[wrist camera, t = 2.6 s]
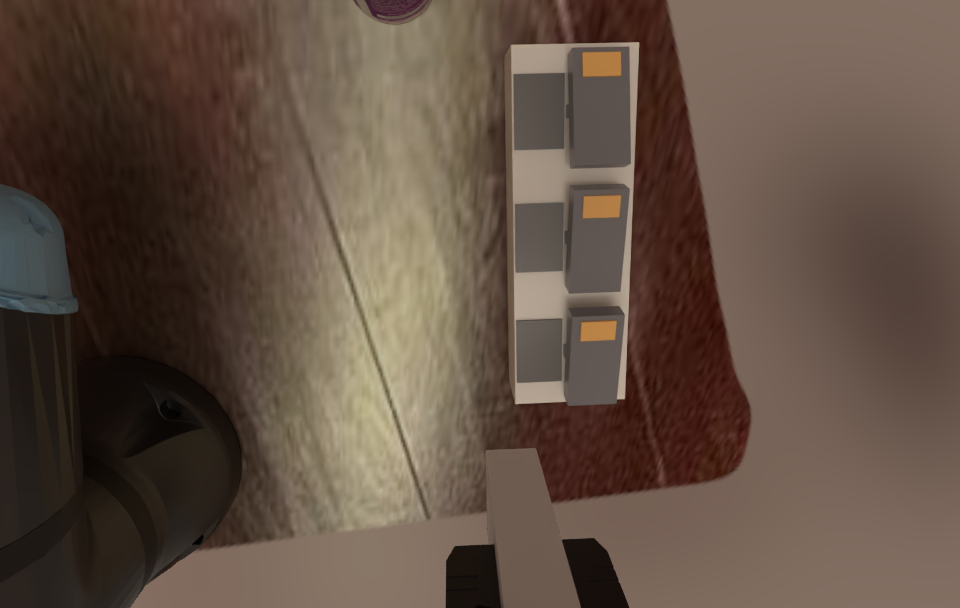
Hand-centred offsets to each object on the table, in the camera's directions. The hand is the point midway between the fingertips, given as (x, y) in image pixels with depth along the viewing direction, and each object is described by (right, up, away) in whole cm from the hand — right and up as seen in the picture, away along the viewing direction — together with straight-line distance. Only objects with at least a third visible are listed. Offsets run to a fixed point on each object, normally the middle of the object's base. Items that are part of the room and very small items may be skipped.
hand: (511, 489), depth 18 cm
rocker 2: (+6, +9, +15) cm, 19 cm away
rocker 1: (+5, +16, +13) cm, 22 cm away
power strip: (+4, +11, +20) cm, 23 cm away
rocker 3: (+6, +2, +17) cm, 18 cm away
